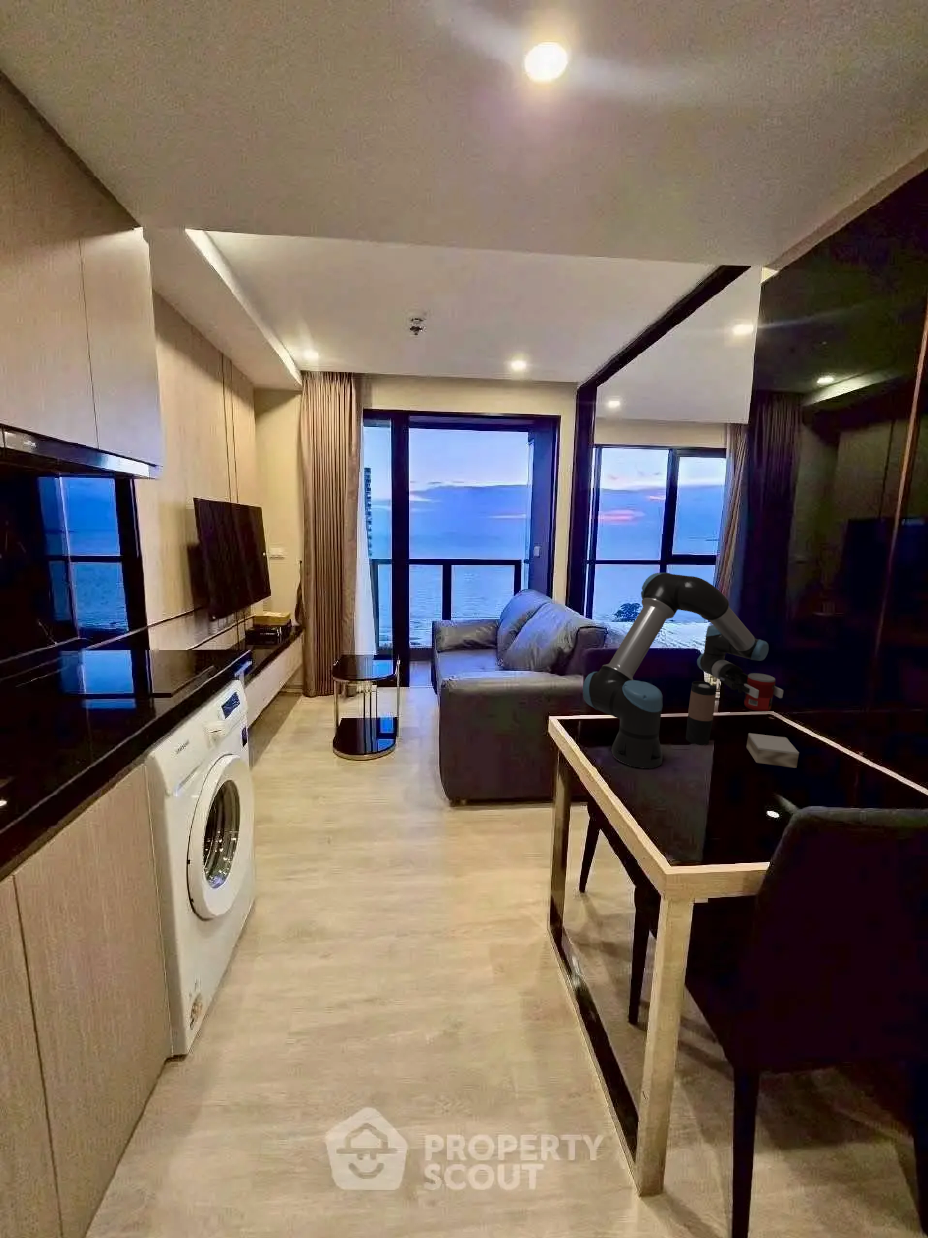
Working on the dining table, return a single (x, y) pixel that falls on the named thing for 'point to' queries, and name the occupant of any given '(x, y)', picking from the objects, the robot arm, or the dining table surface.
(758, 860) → the dining table surface
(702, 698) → the travel mug
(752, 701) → the canned food
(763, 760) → the birch plinth
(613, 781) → the dining table surface
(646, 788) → the dining table surface
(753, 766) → the dining table surface
